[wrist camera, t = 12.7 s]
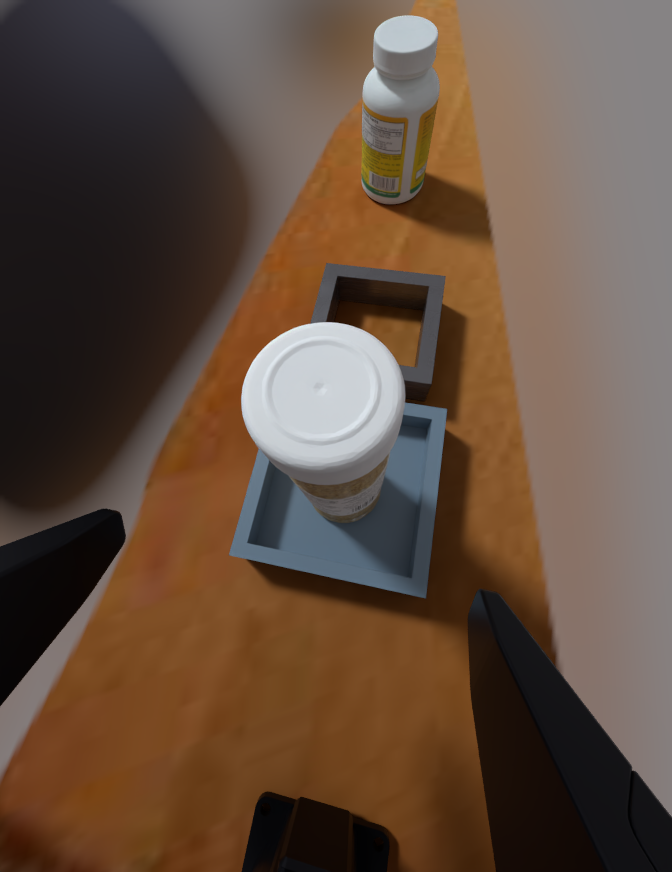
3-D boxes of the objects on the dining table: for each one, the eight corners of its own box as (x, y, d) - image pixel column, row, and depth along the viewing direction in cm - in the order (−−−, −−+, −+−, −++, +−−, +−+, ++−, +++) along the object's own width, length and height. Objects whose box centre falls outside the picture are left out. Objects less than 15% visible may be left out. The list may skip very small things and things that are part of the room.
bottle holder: (424, 401, 25) (431, 384, 22) (305, 383, 26) (299, 364, 23) (438, 300, 27) (445, 276, 25) (329, 288, 28) (326, 263, 26)
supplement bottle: (373, 213, 31) (378, 67, 22) (353, 172, 33) (350, 21, 23) (433, 196, 31) (463, 44, 22) (410, 156, 33) (429, 0, 24)
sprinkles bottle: (355, 438, 23) (350, 289, 11) (396, 499, 22) (444, 411, 9) (293, 475, 23) (209, 364, 10) (330, 540, 21) (285, 506, 9)
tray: (418, 594, 21) (425, 598, 18) (243, 556, 22) (229, 555, 20) (438, 424, 24) (447, 408, 22) (285, 399, 25) (277, 382, 23)
